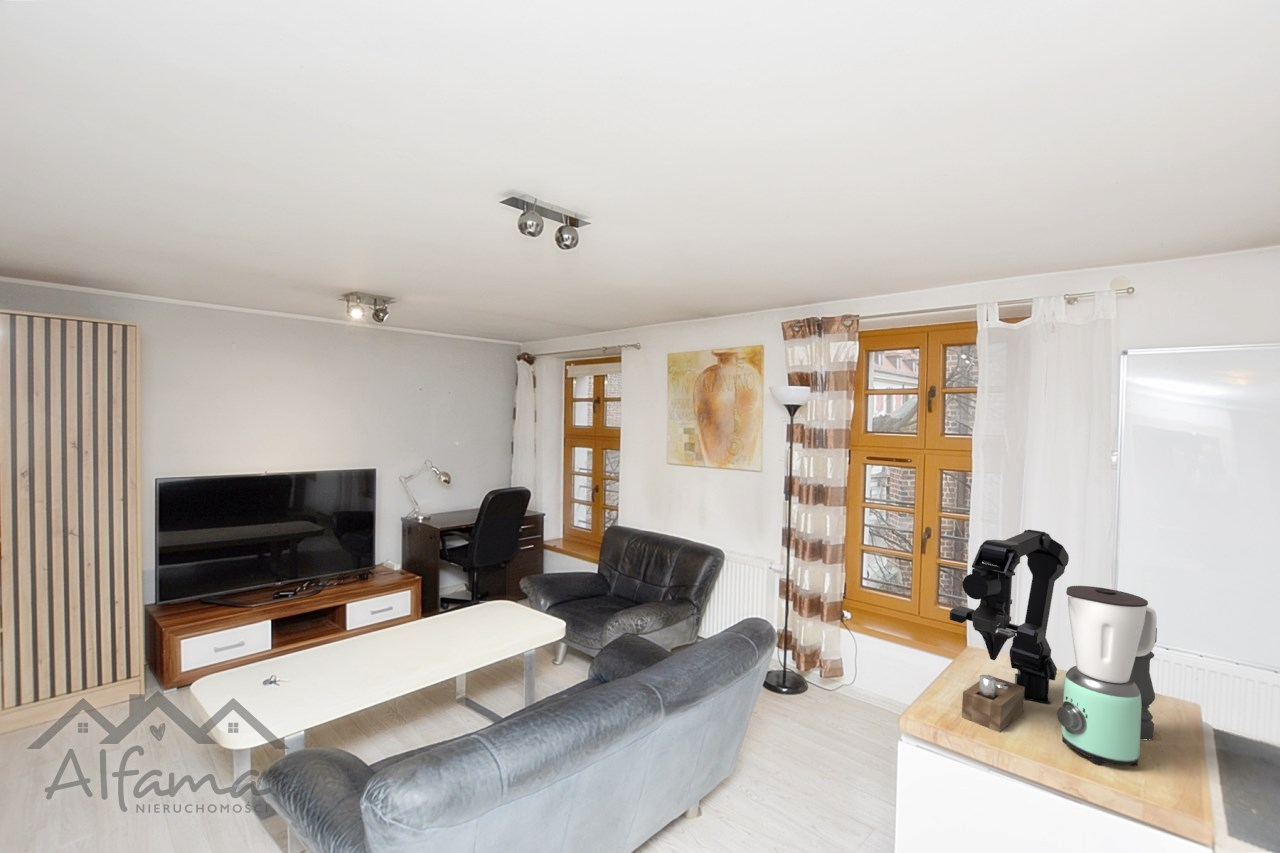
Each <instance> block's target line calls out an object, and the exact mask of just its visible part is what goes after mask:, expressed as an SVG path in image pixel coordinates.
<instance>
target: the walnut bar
mask: <svg viewBox="0 0 1280 853" xmlns="http://www.w3.org/2000/svg"><path fill="white" fill-rule="evenodd" d="M987 675H988V676H991V677H994V678H995V679H996V681H998V682H1003V683H1005V684H1007V685H1008V686H1009V688H1008V689H1004V688H1001V687H998V686H996V688H995V699H994V700H991V699H988V698H985V697H983V696H980V695H979V687H980V680H978V681H977V682H975V683H974V684H973V685H971V686H970V687H968V688H966V689H965V690H964V691H963V692H962V700H961V701H962V704H961V706H962V708H961V718H963V719H965V720H968V721H970V722H973V723H975V724H978V725H980V726H983V727H986V728H988V729H990V730H993V731H994V732H997V733H1001V732H1002V731H1003V730H1004V729H1005V728H1006V727H1007V726H1008V725H1010V724H1011V723H1012V722H1013V721H1015V719H1016V718H1018V717H1019V716H1020V715H1021V714H1022V713H1023V712H1024V705H1025V699H1024V688H1025V687H1023V686H1020V685H1017V684H1015V682H1014V683H1013V682H1011V681H1009V680H1005V679H1002V678H999V677H996V676H993V675H990V674H987Z"/></svg>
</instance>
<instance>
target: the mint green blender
mask: <svg viewBox="0 0 1280 853" xmlns="http://www.w3.org/2000/svg"><path fill="white" fill-rule="evenodd" d="M1065 593H1066V594H1065V595H1066V596H1067V606H1068V616H1069V622H1070V630H1071V637H1072V644H1073V650H1074V651H1073V652H1074V659H1075V664H1076V665H1075V666H1072V667H1070V668H1069V669H1068V670H1067V672H1066V673H1065V676H1064V683H1063V698H1062V706H1060V707H1058V708H1057V710H1056V715H1057V716H1056V717H1057V720H1058V722H1059V723H1060V724H1059V725H1061V737H1062V742H1063V743H1064V744H1067V745H1068V746H1069V747H1070V748H1072V749H1073V750H1074V751H1076V752H1078V753H1080V754H1082V755H1084V756H1086V757H1088V758H1090V762H1091V763H1092V764H1093V765H1095V766H1103V764H1104V763H1107V764H1110V765H1111V764H1112V765H1118V766H1132V767H1133V766H1134V767H1138V766H1139V759H1140V757H1141V755H1140V754H1141V739H1140V735H1141V707H1142V701H1141V693H1140V691H1139V689H1138V687H1137V685H1136V684H1135V683H1134V682H1133V681H1132V680H1131V679H1130V676H1131V672H1132V668H1133V665H1134V661H1135V657H1140V656H1145V655H1147V654H1148V653H1150V652H1153V650H1154V647H1155V645H1156V643H1155V639H1156V628H1157V622H1158V621H1157V619H1158V618H1157V614H1156V610H1155V609H1154V608H1153V607H1152V606H1150V605H1148V604H1149V601H1148V600H1147V599H1145V598H1143V597H1141V596H1139V595H1135V594H1132V593H1129V592H1126V591H1125V592H1124V591H1120V590H1116V589H1112V588H1111V589H1110V588H1104V587H1098V586H1092V585H1091V586H1090V585H1089V586H1088V585H1071V586H1070V585H1069V586H1068V587H1067V588H1066V591H1065ZM1156 640H1157V639H1156Z"/></svg>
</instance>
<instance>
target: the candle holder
mask: <svg viewBox="0 0 1280 853" xmlns="http://www.w3.org/2000/svg"><path fill="white" fill-rule="evenodd" d="M1157 636H1158V628H1157V627H1156V639H1155V644H1157V640H1158V639H1157V638H1158V637H1157ZM1154 657H1155V654H1154V652H1153V651H1151V652H1150V653H1148V654H1147V655H1145V656H1140V657H1135V661H1134V665H1133V668H1132V672H1131V676H1130V679H1131V680H1132V681H1133V682H1134V683H1135V684H1136V685H1137V687H1138V689H1139V691H1140V693H1141V701H1142V707H1141V735H1140V740H1141V739H1147V740H1146V741H1150V740H1149V739H1152V738H1153V739H1154V732H1155V731H1154V730H1155V724H1154V721H1153V720H1152V719H1154V716H1153V715H1152V713H1151V711H1150V710H1149V709H1150V706H1151V705H1152V704H1153V703H1154V701H1155V700H1156V694H1155V689H1154V686H1153V682H1152V677H1151V674H1150V672H1151V671H1150V670H1151V669H1150V668H1151V665H1150V664H1151V660H1152V659H1153V658H1154ZM1153 739H1152V740H1153Z"/></svg>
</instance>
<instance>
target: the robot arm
mask: <svg viewBox="0 0 1280 853" xmlns="http://www.w3.org/2000/svg"><path fill="white" fill-rule="evenodd" d="M1023 556H1026V558H1027V561H1026V562H1027V566H1028V569H1029V571H1030V573H1031V576H1032V579H1031V583H1030V590H1029V594H1028V595H1029V596H1028V601H1027V608H1026V613H1025V619H1024V623H1022V624H1020V625H1017V624H1014V623H1010V622H1012V616H1011V605H1012V604H1013V599H1011V598H1012V587H1013V586H1012V584H1013V576H1016V572H1015V570H1016V568H1017V567H1018V565H1019V564H1020V563H1021V557H1023ZM1069 558H1070V557H1069V554H1068V552H1067V550H1066V548H1065V547H1064V545H1063V544H1061V543H1060V542H1058V541H1056V540H1055V539H1054V538H1052V537H1051V536H1050V534H1049V533H1047V532H1045V531H1040V530H1035V529H1025V530H1024V531H1023V532H1022V533H1019V534H1017V535H1014V536H1012V537H1010V538H1006V539H1002V540H1001V539H987V540H985V541H983V542H982V544H980V546H979V548H978V551H977V553H976V555H975V558H974V559H973V562H972V564H971V567H972V569H971V574H968V575H966V576H965V577H964V578H963V581H962V585H961V586H962V589H963V591H964V592H965V595H966V596H968V597H969V598H971V599H973V600H980V601H979V602H980V603H979V605H978V607H977V608H975V609H973V608H970V607H966V606H962V605H959V606H956V607H954V608H951V609H950V611H949V620H950V621H952V622H956V623H959V624H963V623H965V622H967V621H970V622H972V627H973V629H974V631H976V632H978V633H979V634H980V635H981V636H982V638H983V641H984V643H985V646H986V649H987V652H988V653H987V654H988V655H989V659H990V660H992V661H996V660H997V657H999V654H1000V652H1001V650H1002V649H1003V647H1004V645H1005V644H1006V642H1007V641H1008V640H1010V639H1012V644H1011V647H1010V648H1009V653H1008V654H1009V660H1010V666H1011V668H1012V669H1014V670H1017V673H1016V672H1015V674H1014V684H1017V685H1020V686H1023V687H1025V688H1024V700H1027V701H1028V700H1029V701H1032V702H1033V701H1034V702H1038V703H1043V704H1051V701H1050V699H1049V688H1050V687H1049V686H1050V681H1055V680H1056V676H1057V674H1058V672H1057V671H1058V668H1057V665H1056V664H1055V662H1054V660H1053V658H1052V657H1051V654H1052V649H1051V647H1050V644H1049V641H1048V640H1047V638H1046V635H1047V629H1048V623H1049V618H1050V611H1051V606H1052V600H1053V592H1054V586H1055V582H1056V581H1057V580H1058V579H1059V578H1060V577H1061V576H1063V574H1064V573H1065V572H1066V571H1065V570H1066V567H1067V566H1068V564H1069V561H1070V559H1069Z"/></svg>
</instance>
